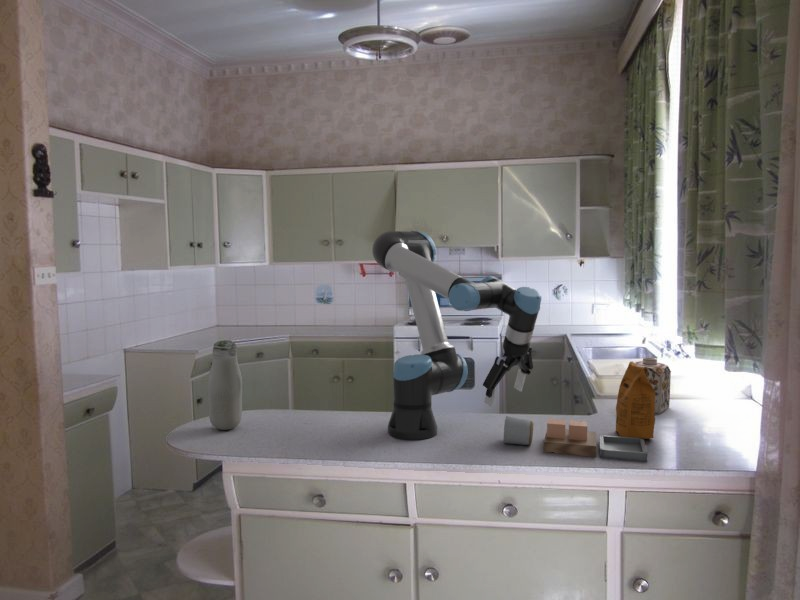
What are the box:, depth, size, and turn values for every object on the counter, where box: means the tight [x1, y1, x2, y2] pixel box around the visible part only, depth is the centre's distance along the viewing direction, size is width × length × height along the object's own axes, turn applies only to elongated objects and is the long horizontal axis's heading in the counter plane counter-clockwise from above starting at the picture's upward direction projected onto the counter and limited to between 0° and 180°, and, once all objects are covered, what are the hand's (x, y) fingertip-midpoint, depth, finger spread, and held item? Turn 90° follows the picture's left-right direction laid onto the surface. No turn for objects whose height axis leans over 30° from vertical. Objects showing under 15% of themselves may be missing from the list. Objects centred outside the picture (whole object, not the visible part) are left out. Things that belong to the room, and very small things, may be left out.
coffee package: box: [615, 361, 656, 440], centre depth 193 cm, size 10×12×22 cm
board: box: [543, 428, 597, 458], centre depth 183 cm, size 14×14×3 cm
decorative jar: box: [634, 357, 672, 415], centre depth 225 cm, size 12×12×18 cm
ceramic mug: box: [503, 416, 534, 446], centre depth 187 cm, size 11×8×8 cm
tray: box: [599, 434, 648, 462], centre depth 179 cm, size 12×14×2 cm
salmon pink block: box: [546, 418, 567, 439], centre depth 184 cm, size 5×5×4 cm
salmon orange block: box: [568, 420, 588, 441], centre depth 182 cm, size 5×5×4 cm
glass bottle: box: [207, 339, 243, 431], centre depth 199 cm, size 10×10×28 cm
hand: (503, 396), depth 195 cm, fingers open, 13 cm apart
